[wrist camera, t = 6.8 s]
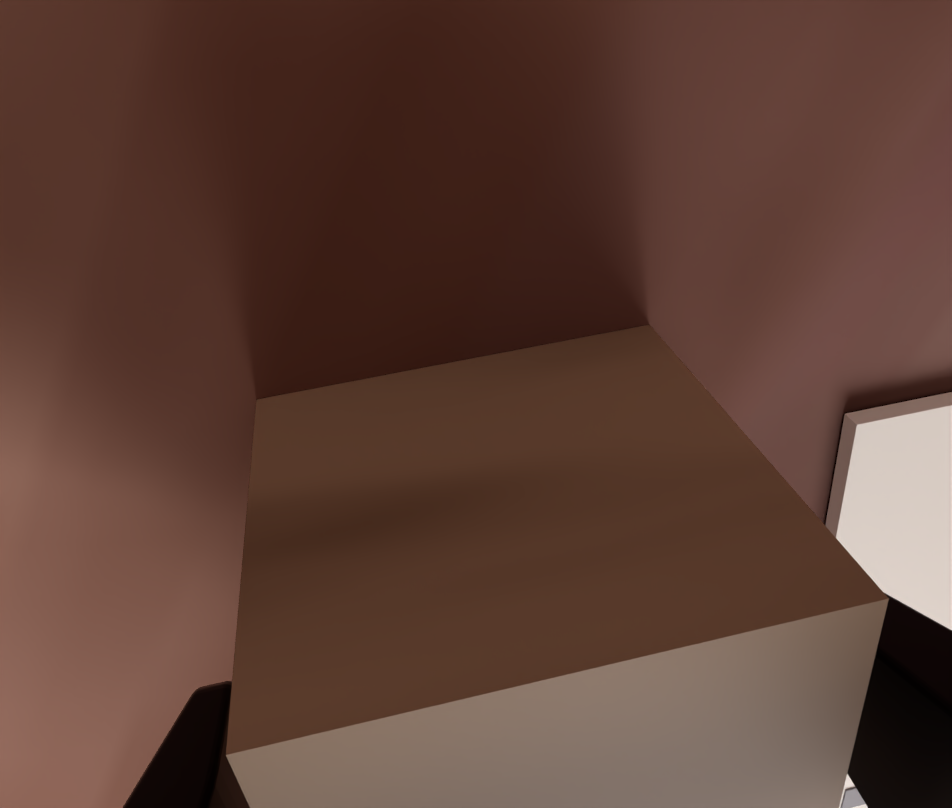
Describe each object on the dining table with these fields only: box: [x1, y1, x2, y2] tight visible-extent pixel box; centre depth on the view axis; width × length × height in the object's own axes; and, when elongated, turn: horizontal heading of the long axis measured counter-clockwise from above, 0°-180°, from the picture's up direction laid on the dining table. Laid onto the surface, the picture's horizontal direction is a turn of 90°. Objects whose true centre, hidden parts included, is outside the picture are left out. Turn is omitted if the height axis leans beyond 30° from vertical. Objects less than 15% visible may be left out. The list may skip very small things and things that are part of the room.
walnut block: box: [226, 325, 889, 808], centre depth 9 cm, size 5×5×5 cm
